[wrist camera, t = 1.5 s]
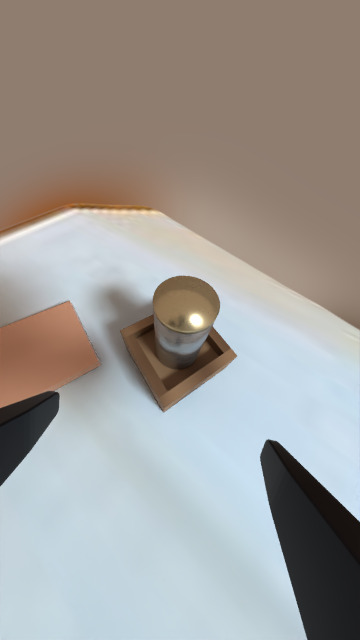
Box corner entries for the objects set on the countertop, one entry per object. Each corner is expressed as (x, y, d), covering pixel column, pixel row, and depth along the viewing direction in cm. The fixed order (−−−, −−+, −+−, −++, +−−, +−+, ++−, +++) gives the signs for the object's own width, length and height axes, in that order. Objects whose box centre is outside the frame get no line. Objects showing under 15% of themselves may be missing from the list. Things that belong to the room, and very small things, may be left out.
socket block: (163, 412, 20) (164, 408, 16) (126, 347, 24) (119, 330, 20) (224, 368, 23) (237, 355, 19) (184, 316, 27) (188, 297, 23)
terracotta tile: (4, 417, 19) (-5, 416, 18) (-12, 340, 22) (-20, 335, 21) (101, 364, 22) (98, 361, 21) (73, 306, 26) (69, 300, 25)
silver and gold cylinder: (170, 378, 19) (177, 342, 11) (147, 342, 21) (140, 290, 13) (206, 354, 21) (233, 310, 13) (182, 323, 23) (193, 267, 15)
